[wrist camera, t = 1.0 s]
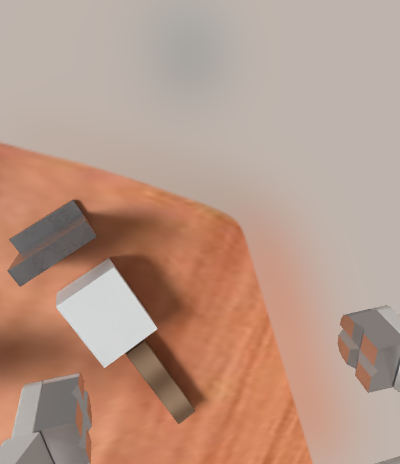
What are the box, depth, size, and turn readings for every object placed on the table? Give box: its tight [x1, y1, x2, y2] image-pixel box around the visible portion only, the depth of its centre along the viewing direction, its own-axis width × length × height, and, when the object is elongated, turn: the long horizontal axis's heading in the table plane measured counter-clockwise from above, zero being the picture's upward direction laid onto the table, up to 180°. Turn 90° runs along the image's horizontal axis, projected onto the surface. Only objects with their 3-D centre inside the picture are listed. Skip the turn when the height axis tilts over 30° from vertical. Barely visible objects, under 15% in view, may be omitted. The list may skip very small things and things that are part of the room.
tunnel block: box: [56, 258, 157, 368], centre depth 49 cm, size 10×8×6 cm
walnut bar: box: [126, 339, 195, 424], centre depth 55 cm, size 14×3×3 cm, turn 32°
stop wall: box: [8, 200, 97, 286], centre depth 44 cm, size 4×9×11 cm, turn 122°
